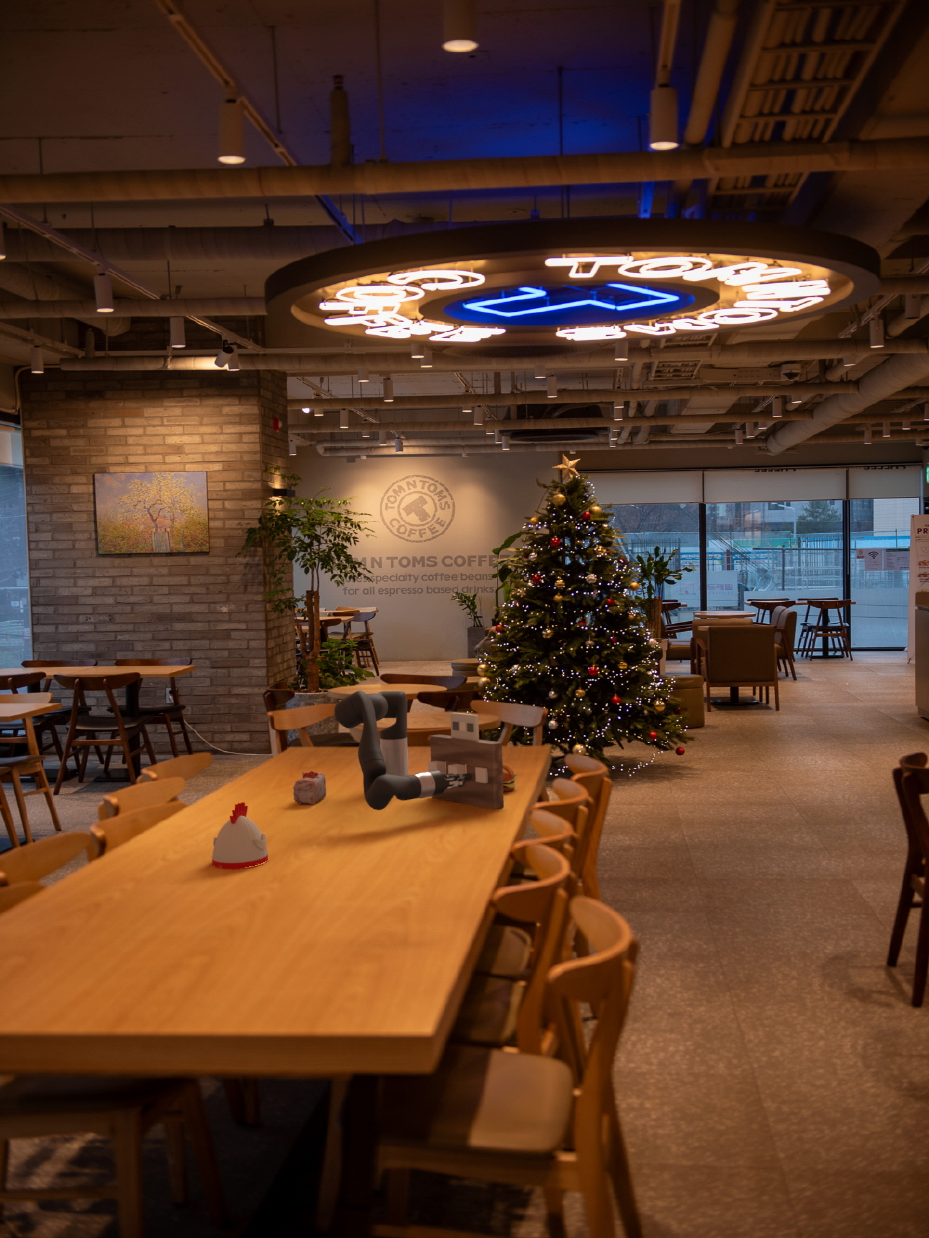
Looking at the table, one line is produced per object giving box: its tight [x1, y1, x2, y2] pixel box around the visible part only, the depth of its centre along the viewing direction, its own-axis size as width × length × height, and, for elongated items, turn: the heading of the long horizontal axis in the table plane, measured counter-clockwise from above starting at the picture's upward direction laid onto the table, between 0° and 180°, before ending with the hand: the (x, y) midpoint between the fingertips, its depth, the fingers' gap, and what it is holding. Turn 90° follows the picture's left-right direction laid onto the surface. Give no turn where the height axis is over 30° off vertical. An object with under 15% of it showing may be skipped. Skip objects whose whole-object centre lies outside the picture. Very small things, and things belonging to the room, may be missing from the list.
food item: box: [292, 770, 327, 806], centre depth 348 cm, size 14×8×10 cm, turn 171°
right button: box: [475, 767, 488, 783], centre depth 332 cm, size 4×4×4 cm
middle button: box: [448, 764, 466, 775], centre depth 337 cm, size 4×4×4 cm
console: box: [429, 734, 505, 810], centre depth 340 cm, size 4×30×20 cm, turn 41°
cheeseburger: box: [503, 762, 517, 792], centre depth 359 cm, size 10×11×10 cm
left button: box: [427, 760, 446, 774], centre depth 345 cm, size 4×4×4 cm
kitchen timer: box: [211, 802, 269, 870], centre depth 272 cm, size 14×14×15 cm
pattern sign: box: [450, 712, 480, 741], centre depth 339 cm, size 2×12×8 cm, turn 41°
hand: (470, 776), depth 327 cm, fingers closed
